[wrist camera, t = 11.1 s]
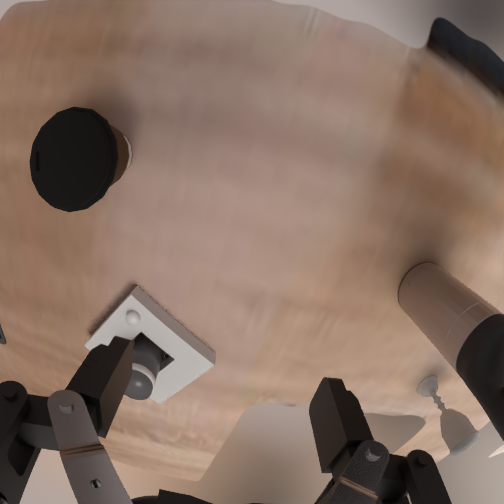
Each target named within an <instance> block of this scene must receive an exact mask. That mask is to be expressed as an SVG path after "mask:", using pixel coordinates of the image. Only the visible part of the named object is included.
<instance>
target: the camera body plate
mask: <svg viewBox="0 0 504 504" xmlns="http://www.w3.org/2000/svg"><path fill="white" fill-rule="evenodd" d="M140 332H142V333H143V334H144V335H146V336H147V337H148V338H149V339H150V340H152V341H153V342H154V343H155V344H156V345H158V346H159V347H160V348H161V349H163V350H164V351H165V352H166V353H167V354H169V356H168V357H167V358H165V359H164V360H163V361H162V363H161V366H160V369H159V372H158V375H157V378H156V383H155V386H154V389H153V392H152V393H151V396H150V398H151V399H152V400H154V401H155V402H157V403H158V404H160V403H162V402H163V401H165V400H166V399H168V398H169V397H171V396H172V395H174V394H175V393H177V392H178V391H180V390H181V389H182V388H184V387H185V386H187V385H188V384H190V383H191V382H192V381H194V380H195V379H197V378H198V377H199V376H201V375H202V374H204V373H205V372H206V371H208V370H209V369H211V368H212V367H213V366H215V359H216V353H215V352H214V351H212V350H211V349H210V348H209V347H207V346H206V345H205V344H204V343H202V342H201V341H200V340H199V339H198V338H196V337H195V336H194V335H193V334H192V333H190V332H189V331H188V330H187V329H186V328H185V327H183V326H182V325H181V324H180V323H179V322H178V321H176V320H175V319H174V318H173V317H172V316H171V315H169V314H168V313H167V312H166V311H165V310H164V309H163V308H162V307H160V306H159V305H158V304H157V303H156V302H155V301H154V300H153V299H152V298H151V297H149V296H148V295H147V294H146V293H145V292H144V291H143V290H142V289H141V288H140V287H139V286H138V285H137V286H136V287H135V288H134V289H133V290H132V292H131V293H130V294H129V295H128V296H127V297H126V298H125V299H124V300H123V301H122V302H121V303H120V304H119V306H118V307H117V308H116V309H115V310H114V311H113V312H112V313H111V314H110V315H109V316H108V318H107V319H106V320H105V321H104V322H103V323H102V324H101V325H100V326H99V328H98V329H97V330H96V331H95V332H94V333H93V334H92V335H91V337H90V338H89V340H88V341H87V343H86V344H85V345H84V346H85V347H87V348H88V349H89V350H90V351H91V349H93V348H95V347H96V346H98V345H100V344H104V345H107V346H108V345H109V344H110V342H111V340H112V339H113V337H114V336H119V337H122V338H126V339H129V340H133V339H134V338H135V337H136V336H137V335H138V334H139V333H140Z"/></svg>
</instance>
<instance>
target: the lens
mask: <svg viewBox="0 0 504 504" xmlns="http://www.w3.org/2000/svg"><path fill="white" fill-rule="evenodd" d="M164 354H165V351H164V350H163V349H161V348H160V347H159V346H158V345H156V344H155V343H154V342H153V341H152V340H150V339H149V338H148V337H147V336H146V335H144V334H141V335H139V336H138V337H137V339H136V341H135V343H134V345H133V361H132V374H131V378H130V381H129V384H128V386H127V388H126V391H125V393H124V394H125V395H126V396H128V397H130V398H133V399H136V400H144V399H147V398H149V397H150V396H151V393H152V392H153V389H154V386H155V383H156V378H157V375H158V372H159V369H160V366H161V363H162V360H163V357H164Z"/></svg>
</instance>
